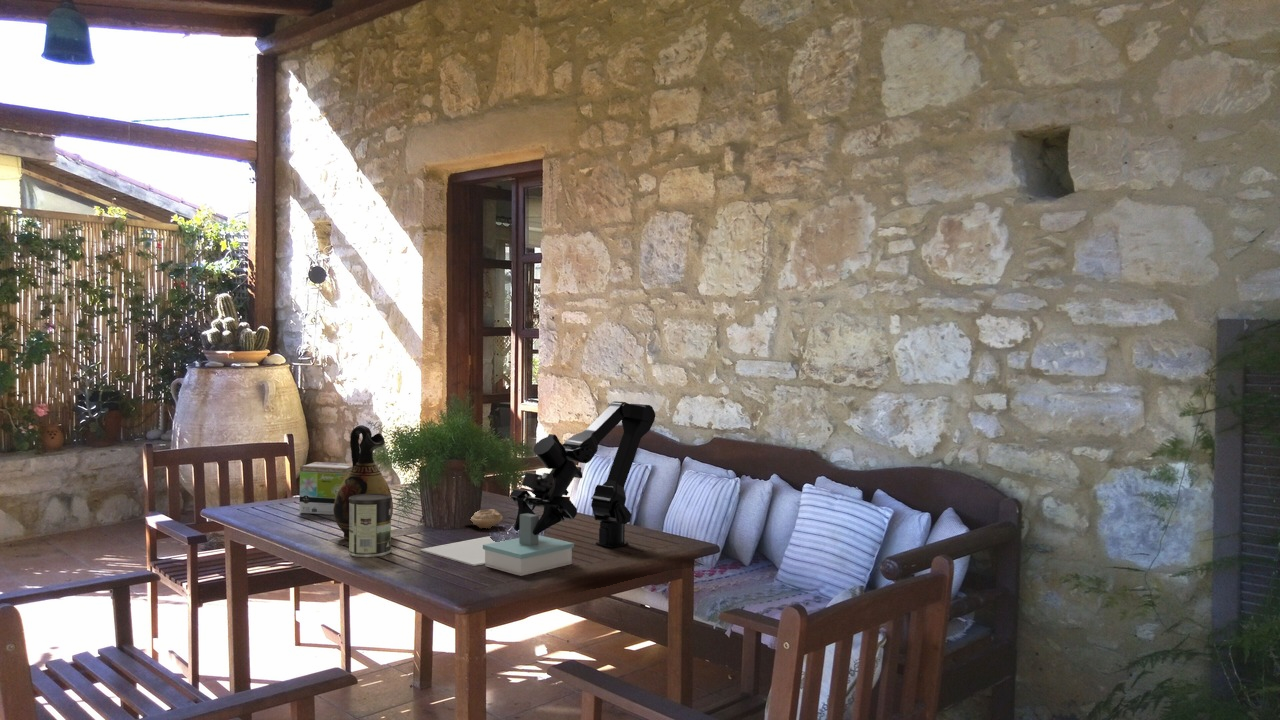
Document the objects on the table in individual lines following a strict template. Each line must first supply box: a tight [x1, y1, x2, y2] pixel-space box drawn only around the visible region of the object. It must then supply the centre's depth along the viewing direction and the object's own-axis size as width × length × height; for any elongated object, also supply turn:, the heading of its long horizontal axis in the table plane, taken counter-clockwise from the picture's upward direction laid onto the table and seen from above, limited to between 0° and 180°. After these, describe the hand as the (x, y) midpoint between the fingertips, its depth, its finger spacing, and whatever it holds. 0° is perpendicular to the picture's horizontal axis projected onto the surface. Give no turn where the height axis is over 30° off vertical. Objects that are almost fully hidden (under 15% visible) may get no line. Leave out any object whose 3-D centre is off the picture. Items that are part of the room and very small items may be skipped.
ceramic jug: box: [333, 424, 394, 541], centre depth 247 cm, size 17×15×30 cm
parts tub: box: [484, 548, 573, 577], centre depth 220 cm, size 16×13×4 cm
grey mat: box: [419, 535, 495, 567], centre depth 234 cm, size 22×22×1 cm
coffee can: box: [348, 494, 393, 558], centre depth 230 cm, size 10×10×14 cm
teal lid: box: [483, 513, 575, 559], centre depth 220 cm, size 17×14×10 cm
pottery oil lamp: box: [470, 508, 504, 529], centre depth 264 cm, size 9×12×7 cm
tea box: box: [298, 461, 353, 516], centre depth 281 cm, size 15×10×15 cm, turn 83°
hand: (524, 532), depth 219 cm, fingers open, 6 cm apart
